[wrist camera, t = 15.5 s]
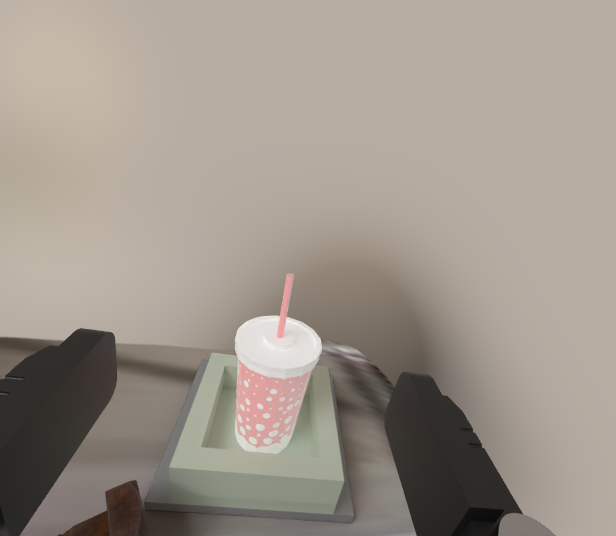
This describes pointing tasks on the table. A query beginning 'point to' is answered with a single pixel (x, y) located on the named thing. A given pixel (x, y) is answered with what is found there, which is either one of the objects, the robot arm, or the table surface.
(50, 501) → the table surface
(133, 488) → the bolt
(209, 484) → the pale green square tray
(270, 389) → the beverage cup
